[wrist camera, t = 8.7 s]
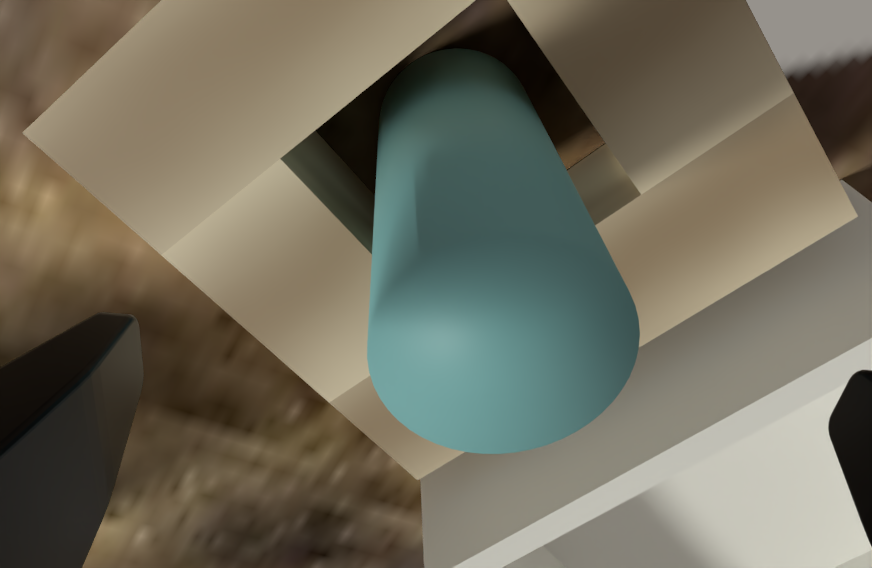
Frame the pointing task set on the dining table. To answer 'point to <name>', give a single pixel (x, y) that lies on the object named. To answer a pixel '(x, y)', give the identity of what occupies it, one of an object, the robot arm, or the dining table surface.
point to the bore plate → (354, 203)
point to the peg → (487, 268)
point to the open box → (692, 442)
